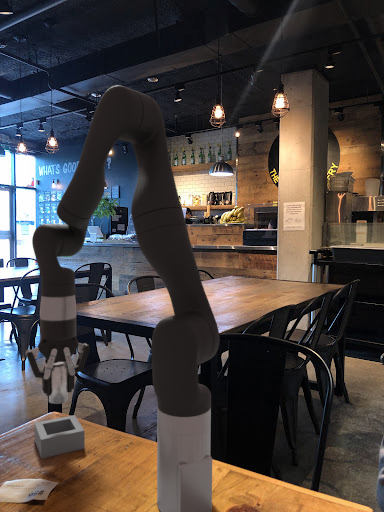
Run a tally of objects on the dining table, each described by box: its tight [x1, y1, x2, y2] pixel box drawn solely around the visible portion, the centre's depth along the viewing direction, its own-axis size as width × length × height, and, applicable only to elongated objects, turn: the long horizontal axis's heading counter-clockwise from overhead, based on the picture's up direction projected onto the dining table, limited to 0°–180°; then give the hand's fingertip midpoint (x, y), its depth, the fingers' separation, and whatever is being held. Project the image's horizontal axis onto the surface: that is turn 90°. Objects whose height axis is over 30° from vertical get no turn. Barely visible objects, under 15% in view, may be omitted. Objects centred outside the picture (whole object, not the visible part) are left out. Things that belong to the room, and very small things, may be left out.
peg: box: [48, 362, 69, 405], centre depth 93 cm, size 4×4×8 cm
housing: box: [33, 414, 86, 460], centre depth 94 cm, size 9×9×4 cm
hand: (58, 392), depth 93 cm, fingers closed on peg, 4 cm apart
